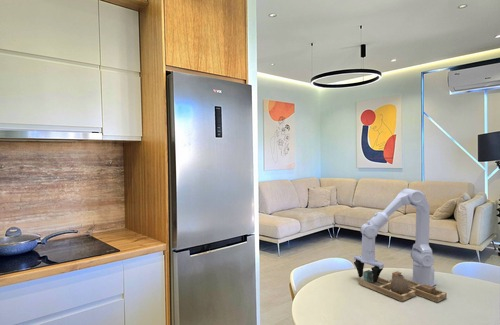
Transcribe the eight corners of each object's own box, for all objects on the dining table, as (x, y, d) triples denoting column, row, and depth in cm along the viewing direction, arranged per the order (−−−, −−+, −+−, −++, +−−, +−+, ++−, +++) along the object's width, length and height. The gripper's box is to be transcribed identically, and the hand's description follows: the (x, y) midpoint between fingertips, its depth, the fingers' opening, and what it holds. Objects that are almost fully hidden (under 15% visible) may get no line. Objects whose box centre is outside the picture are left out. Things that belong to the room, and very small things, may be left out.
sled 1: (373, 279, 147) (373, 268, 147) (416, 295, 130) (416, 283, 130) (358, 283, 142) (358, 272, 141) (401, 301, 124) (402, 288, 124)
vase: (411, 300, 127) (411, 278, 127) (393, 298, 128) (393, 277, 128) (405, 292, 134) (405, 272, 134) (388, 291, 135) (388, 271, 134)
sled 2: (399, 281, 145) (399, 270, 145) (446, 297, 128) (446, 285, 128) (389, 284, 141) (389, 273, 141) (437, 302, 124) (437, 289, 124)
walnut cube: (425, 293, 134) (425, 284, 134) (435, 296, 130) (435, 287, 130) (420, 295, 131) (420, 286, 131) (430, 299, 128) (430, 289, 128)
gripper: (349, 247, 147) (349, 276, 147) (377, 255, 135) (376, 286, 135) (359, 245, 151) (358, 273, 151) (386, 253, 139) (386, 283, 139)
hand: (367, 279), depth 144 cm, fingers open, 7 cm apart
